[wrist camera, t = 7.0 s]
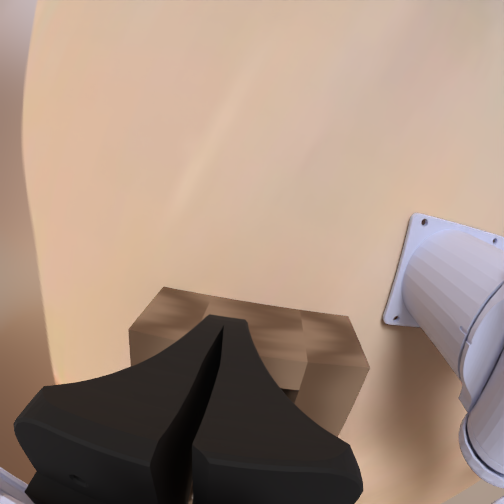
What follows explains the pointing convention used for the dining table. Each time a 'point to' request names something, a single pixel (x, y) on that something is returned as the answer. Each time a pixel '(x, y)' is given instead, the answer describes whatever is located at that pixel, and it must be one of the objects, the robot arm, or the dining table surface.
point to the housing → (270, 348)
